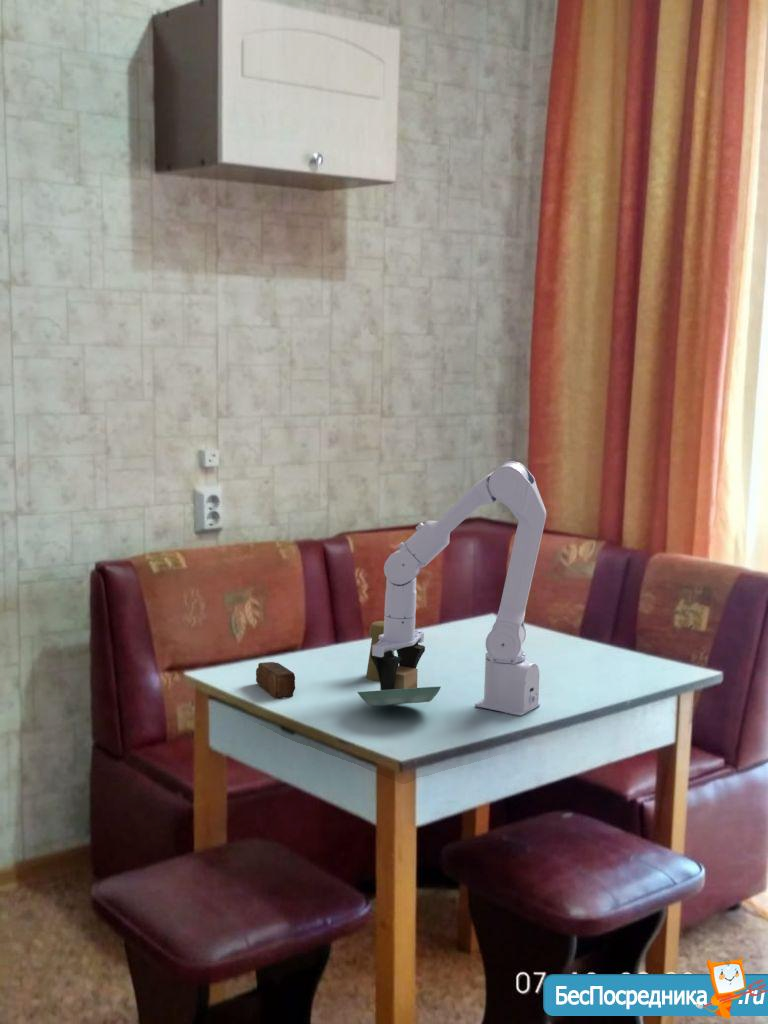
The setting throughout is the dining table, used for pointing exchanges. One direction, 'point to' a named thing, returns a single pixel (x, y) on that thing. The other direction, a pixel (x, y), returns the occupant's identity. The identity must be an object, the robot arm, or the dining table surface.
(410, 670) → the walnut block
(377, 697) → the saucer
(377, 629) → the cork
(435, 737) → the dining table surface
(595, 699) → the dining table surface
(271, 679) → the brick
